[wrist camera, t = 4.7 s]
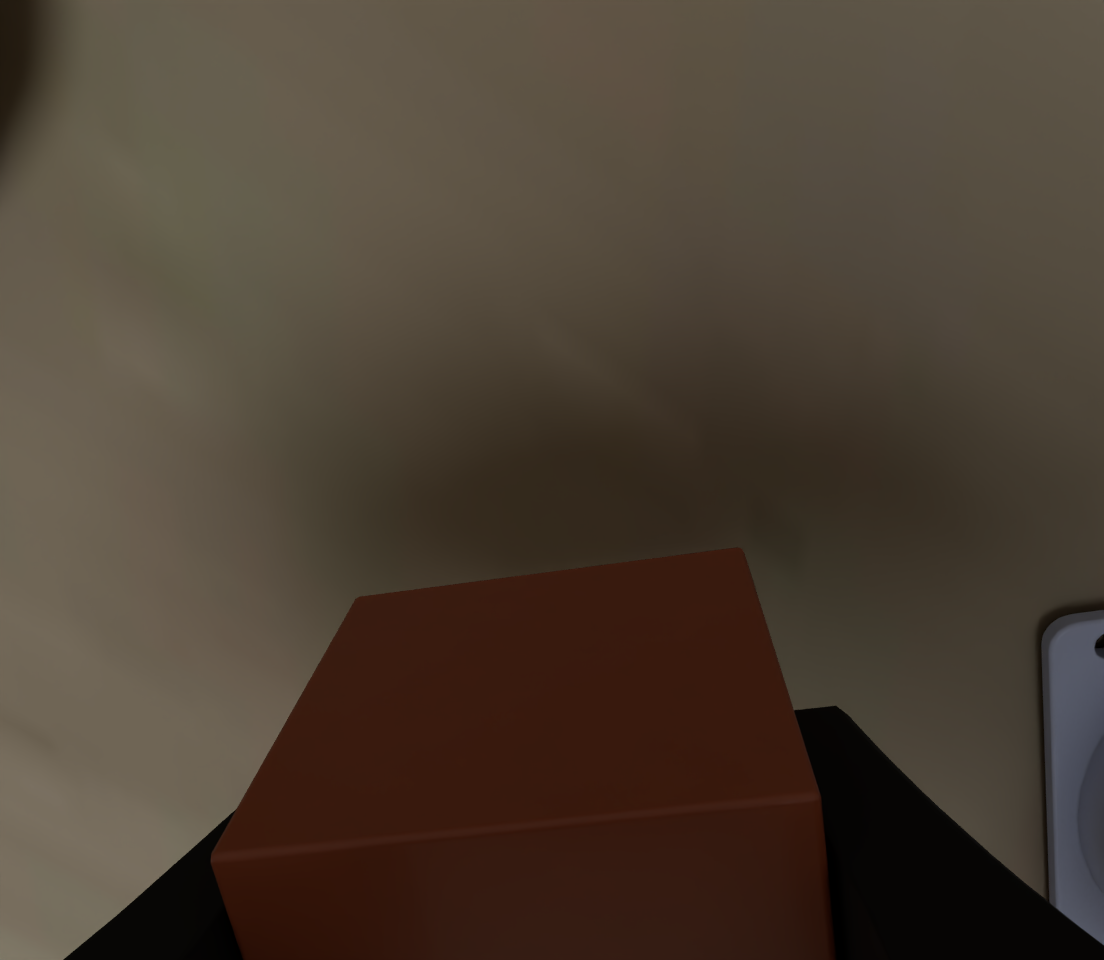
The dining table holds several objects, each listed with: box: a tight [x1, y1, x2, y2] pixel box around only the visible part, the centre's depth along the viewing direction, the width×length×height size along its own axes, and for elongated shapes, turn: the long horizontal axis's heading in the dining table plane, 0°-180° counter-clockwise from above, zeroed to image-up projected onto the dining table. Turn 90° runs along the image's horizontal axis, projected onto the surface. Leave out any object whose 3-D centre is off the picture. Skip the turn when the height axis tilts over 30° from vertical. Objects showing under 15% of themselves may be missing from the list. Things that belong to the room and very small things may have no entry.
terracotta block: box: [211, 548, 837, 960], centre depth 9 cm, size 4×4×4 cm
